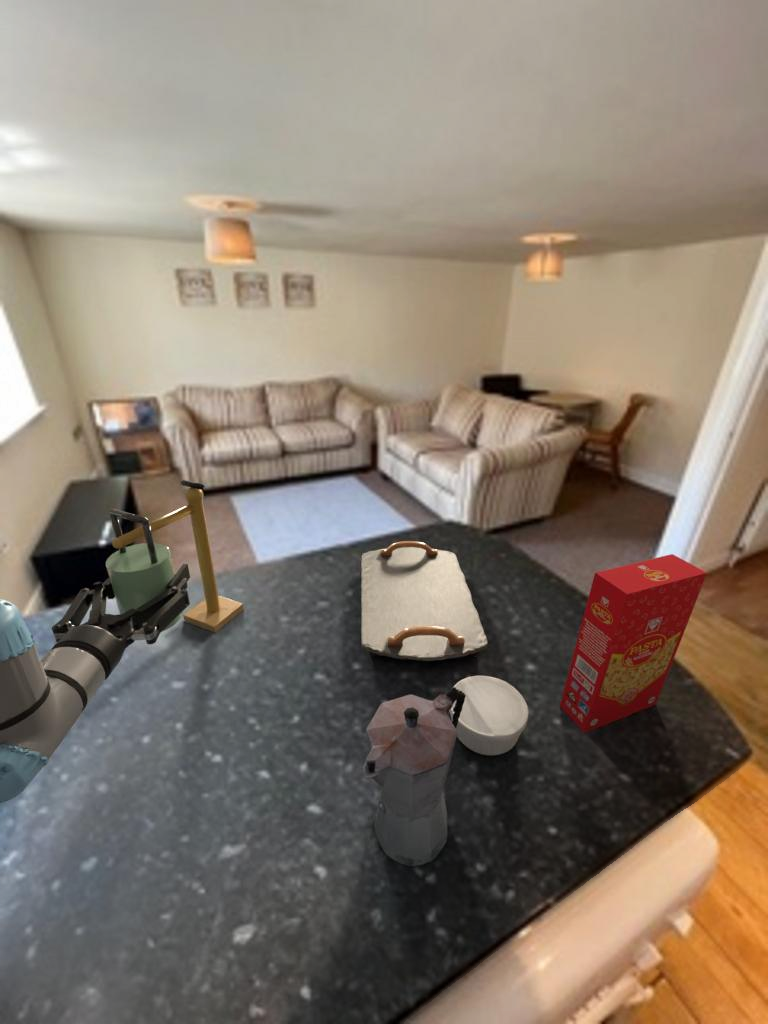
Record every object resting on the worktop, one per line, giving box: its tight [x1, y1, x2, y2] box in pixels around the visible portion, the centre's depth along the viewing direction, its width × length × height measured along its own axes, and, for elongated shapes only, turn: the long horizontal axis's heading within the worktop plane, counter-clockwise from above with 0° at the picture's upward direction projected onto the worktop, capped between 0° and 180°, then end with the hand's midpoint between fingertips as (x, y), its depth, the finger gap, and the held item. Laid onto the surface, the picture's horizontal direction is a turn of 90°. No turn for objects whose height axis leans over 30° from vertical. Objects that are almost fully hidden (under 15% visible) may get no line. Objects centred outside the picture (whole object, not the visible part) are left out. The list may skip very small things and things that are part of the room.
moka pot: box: [362, 686, 466, 867], centre depth 50 cm, size 10×15×20 cm, turn 137°
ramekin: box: [448, 675, 529, 756], centre depth 66 cm, size 11×11×5 cm
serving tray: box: [360, 540, 489, 662], centre depth 93 cm, size 39×23×6 cm, turn 3°
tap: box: [111, 479, 245, 634], centre depth 78 cm, size 8×20×28 cm, turn 156°
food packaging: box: [559, 553, 708, 733], centre depth 66 cm, size 15×5×25 cm, turn 112°
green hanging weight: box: [105, 508, 183, 632], centre depth 71 cm, size 9×9×20 cm
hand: (158, 570), depth 77 cm, fingers closed on green hanging weight, 9 cm apart
